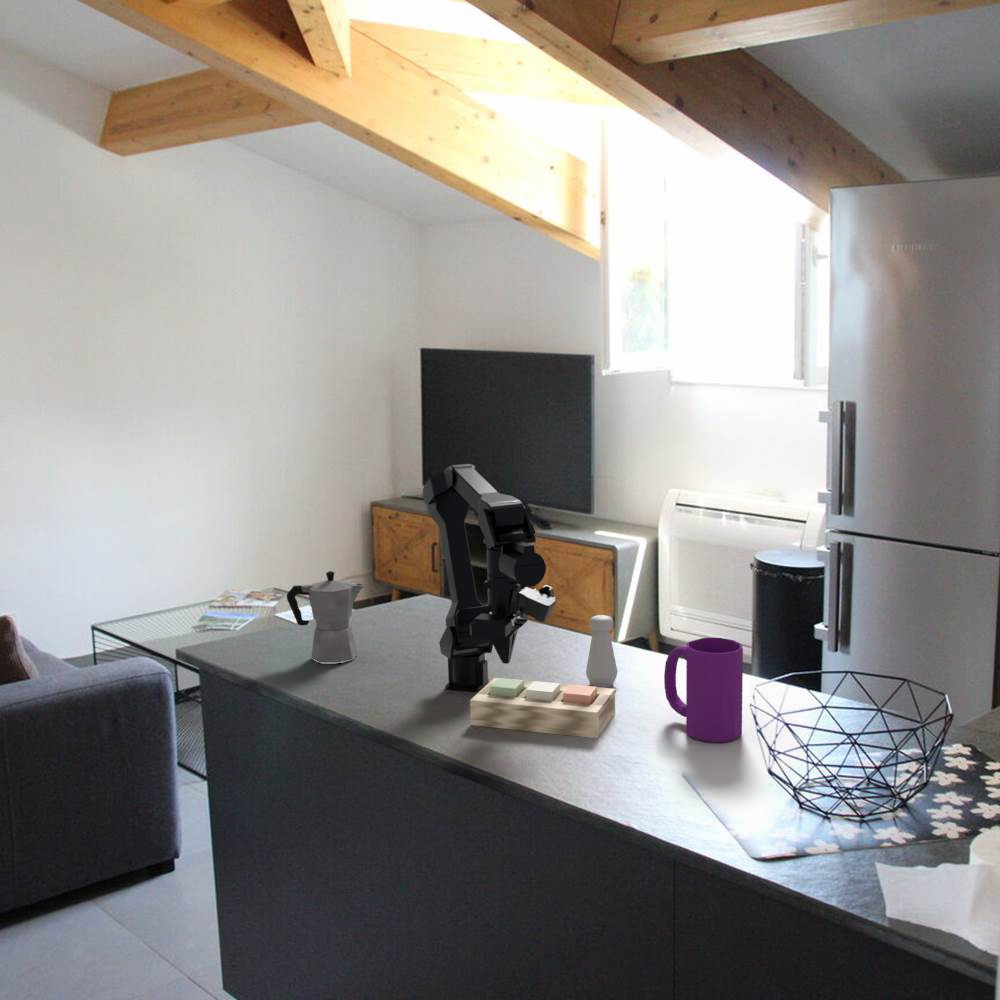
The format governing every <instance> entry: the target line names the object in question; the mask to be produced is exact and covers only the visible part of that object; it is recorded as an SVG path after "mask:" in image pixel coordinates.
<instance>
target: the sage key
mask: <svg viewBox="0 0 1000 1000" xmlns="http://www.w3.org/2000/svg"><path fill="white" fill-rule="evenodd" d="M497 678H498V679H497V680H496V681H495V682H494V683H493V684H492V685H491V686H490V695H495V696H506V697H516V698H517V697H518V696H519V695H520V694H521V693H522V692H523V691H524V681H525V679H516V678H515V679H513V678H505V677H504V678H503V677H497Z"/></svg>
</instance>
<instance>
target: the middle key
mask: <svg viewBox="0 0 1000 1000" xmlns="http://www.w3.org/2000/svg"><path fill="white" fill-rule="evenodd" d="M560 684H561V683H559V682H558V683H557V682H549V681H537V680H534V682H533V683H532V684H531V685H530V686H529V687H528V688H527V689H526V698H527V699H537V700H548V701H554V700H555V699H556V698H557V697H558V696H559V695H560Z"/></svg>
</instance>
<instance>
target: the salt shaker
mask: <svg viewBox="0 0 1000 1000" xmlns="http://www.w3.org/2000/svg"><path fill="white" fill-rule="evenodd" d="M589 628H590V630H592V634H591V641H590V645H589V652H588V657H587V658H588V659H587V662H586V663H587V665H586V670H585V674H586V675H585V676H586V677H587V680H588V682H589V686H594V687H600V688H612V687H613V686H614V684H615V681H616V678H617V676H618V666H617V662H616V657H615V652H614V647H613V643H612V637H611V632H610V631H611V630H613V628H614V620H613V618H612V617H611V616H610V615H606V614H598V615H594V616H592V617H591V618H590V619H589Z"/></svg>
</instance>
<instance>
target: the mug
mask: <svg viewBox="0 0 1000 1000" xmlns="http://www.w3.org/2000/svg"><path fill="white" fill-rule="evenodd" d="M681 656H682V657H683V659H684V660H685V661H686V666H685V668H686V672H685V673H686V674H685V676H686V680H685V681H686V689H685V691H686V698H685V701H686V703H685V702H683V700H682V699H681V697H680V696H679V694H678V690H677V670H678V669H677V666H678V662H679V658H680V657H681ZM743 658H744V649H743V644H742V643H740V642H738V641H736V640H734V639H728V638H723V637H701V638H698V639H694V640H690V641H688V642H686V646H683V645H682V646H681V645H680V646H679V645H678V646H676V647H675V648H673V649H672V650H671V651H670V653H669V654H667V657H666V661H665V667H664V677H663V680H664V683H663V684H664V693H665V697H666V700H667V701H668V704H669V705H670V707H671V709H672V710H673V711H674V712H676V714H679V715H680V716H682V717H685V720H686V722H685V723H686V725H685V726H686V729H685V730H686V731H685V732H686V734H687V735H688V736H689V737H691V738H693V739H694V740H696V741H700V742H705V743H715V744H717V743H719V744H722V743H729V742H733V741H735V740H736V739H738V738H740V737H741V736H742V734H743V678H744V677H743V676H744V675H743V672H744V671H743V668H744V667H743V666H744V663H743V662H744V659H743ZM732 740H733V741H732ZM728 741H729V742H728Z"/></svg>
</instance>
